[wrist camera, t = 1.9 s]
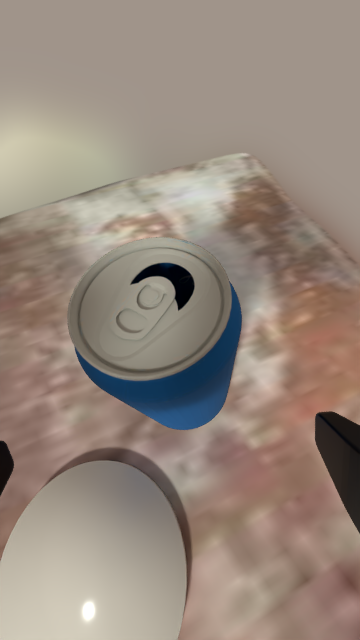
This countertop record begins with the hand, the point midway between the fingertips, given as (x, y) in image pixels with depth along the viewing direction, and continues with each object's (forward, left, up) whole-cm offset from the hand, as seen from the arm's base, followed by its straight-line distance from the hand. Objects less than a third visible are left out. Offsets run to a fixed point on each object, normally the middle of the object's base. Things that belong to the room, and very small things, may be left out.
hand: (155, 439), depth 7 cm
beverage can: (+4, -2, -11) cm, 12 cm away
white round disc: (-2, +8, -11) cm, 14 cm away
